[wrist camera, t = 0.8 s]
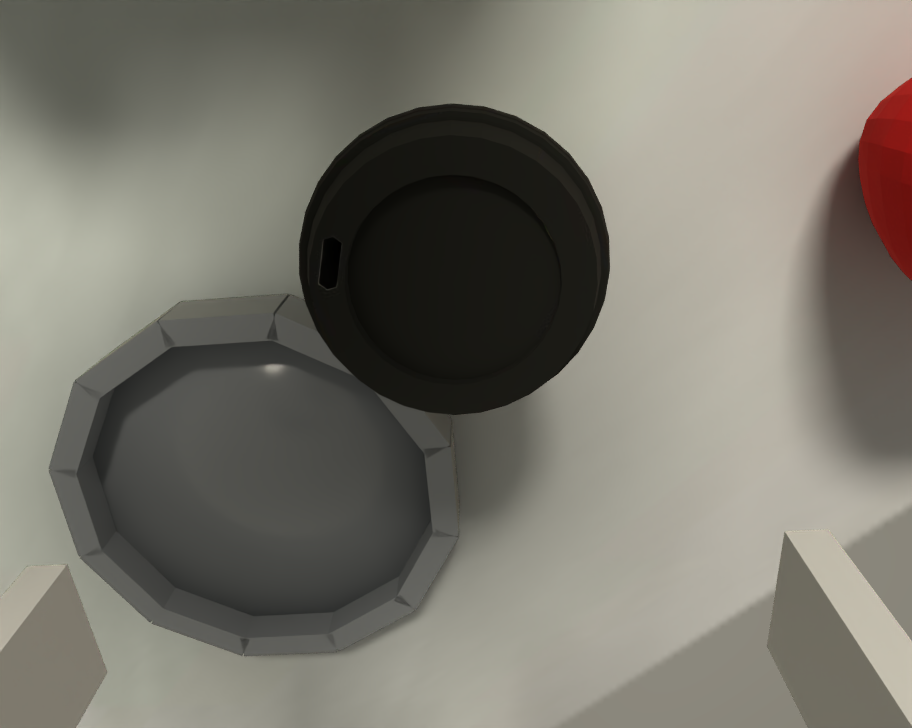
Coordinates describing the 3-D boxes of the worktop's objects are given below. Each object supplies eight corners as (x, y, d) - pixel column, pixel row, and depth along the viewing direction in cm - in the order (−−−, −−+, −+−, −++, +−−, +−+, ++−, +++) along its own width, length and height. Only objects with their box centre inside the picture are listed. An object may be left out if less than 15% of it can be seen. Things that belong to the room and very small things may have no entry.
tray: (34, 311, 37) (-1, 331, 34) (440, 283, 36) (437, 301, 33) (137, 625, 45) (116, 662, 43) (468, 609, 44) (468, 645, 42)
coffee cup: (534, 308, 37) (575, 457, 23) (346, 274, 36) (271, 405, 22) (582, 111, 33) (665, 145, 19) (372, 69, 32) (301, 74, 18)
